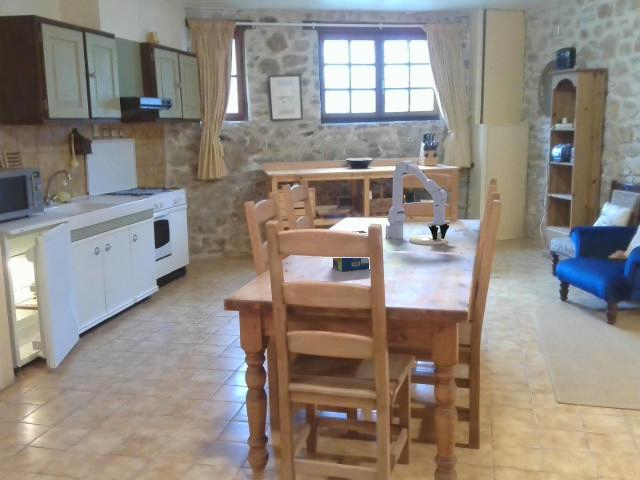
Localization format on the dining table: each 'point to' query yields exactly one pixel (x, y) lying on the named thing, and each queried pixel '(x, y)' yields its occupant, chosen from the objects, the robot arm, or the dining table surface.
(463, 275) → the dining table surface
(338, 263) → the protein box
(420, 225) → the dining table surface
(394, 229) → the robot arm
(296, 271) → the dining table surface
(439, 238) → the dial
